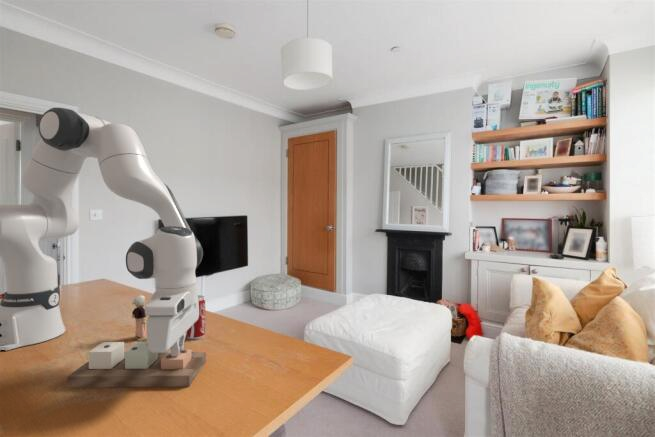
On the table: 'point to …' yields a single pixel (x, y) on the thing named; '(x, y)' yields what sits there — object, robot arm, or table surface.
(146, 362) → the key two
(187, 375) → the keypad board
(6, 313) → the robot arm
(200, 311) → the soda can
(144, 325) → the grandmother figurine
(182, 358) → the key three
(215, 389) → the table surface
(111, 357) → the key one
